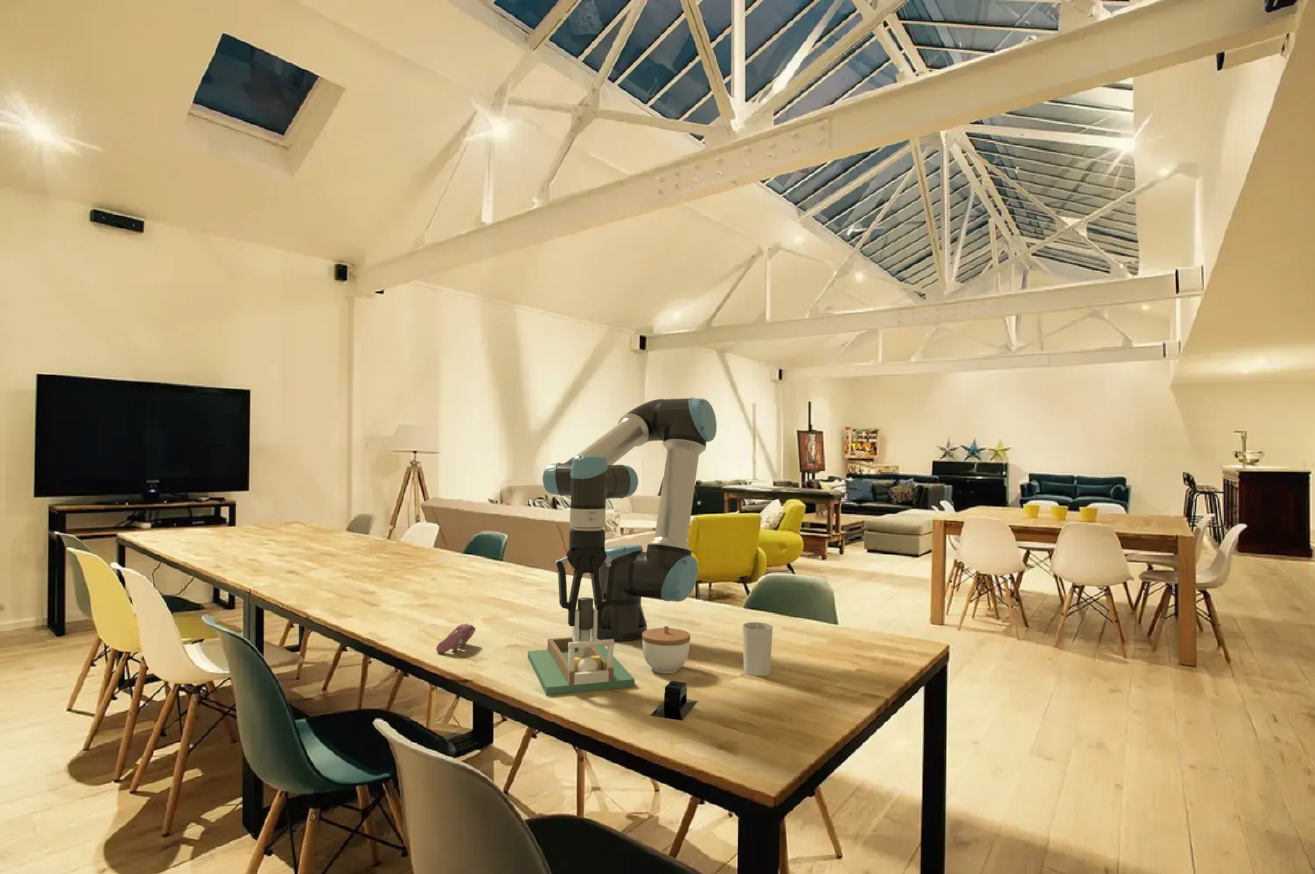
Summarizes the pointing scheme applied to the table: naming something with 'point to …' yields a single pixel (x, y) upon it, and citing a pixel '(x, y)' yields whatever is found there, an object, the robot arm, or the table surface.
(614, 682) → the pitch
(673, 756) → the table surface
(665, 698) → the black arch on base
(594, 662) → the ball
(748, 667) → the drinking glass
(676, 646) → the lidded jar
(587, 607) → the striker
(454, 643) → the pink toy animal
